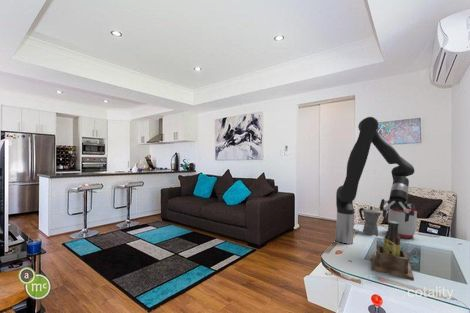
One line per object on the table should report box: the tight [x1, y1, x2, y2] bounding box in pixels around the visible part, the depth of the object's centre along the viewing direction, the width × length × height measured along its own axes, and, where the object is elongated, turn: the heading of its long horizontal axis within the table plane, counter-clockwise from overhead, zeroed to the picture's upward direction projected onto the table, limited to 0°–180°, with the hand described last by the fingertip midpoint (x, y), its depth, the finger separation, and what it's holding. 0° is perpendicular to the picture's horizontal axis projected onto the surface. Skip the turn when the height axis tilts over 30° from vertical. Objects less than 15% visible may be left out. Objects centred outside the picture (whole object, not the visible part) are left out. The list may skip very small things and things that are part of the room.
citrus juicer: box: [387, 208, 418, 239], centre depth 152 cm, size 16×17×20 cm
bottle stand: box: [371, 244, 415, 281], centre depth 105 cm, size 15×16×7 cm
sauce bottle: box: [383, 221, 401, 257], centre depth 106 cm, size 6×6×20 cm
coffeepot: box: [358, 206, 382, 236], centre depth 155 cm, size 15×9×18 cm, turn 25°
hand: (394, 219), depth 112 cm, fingers open, 8 cm apart
